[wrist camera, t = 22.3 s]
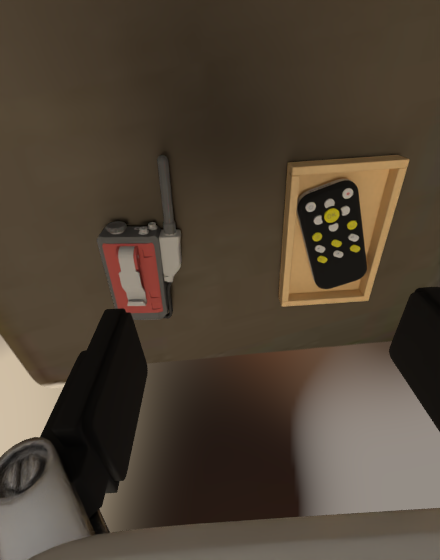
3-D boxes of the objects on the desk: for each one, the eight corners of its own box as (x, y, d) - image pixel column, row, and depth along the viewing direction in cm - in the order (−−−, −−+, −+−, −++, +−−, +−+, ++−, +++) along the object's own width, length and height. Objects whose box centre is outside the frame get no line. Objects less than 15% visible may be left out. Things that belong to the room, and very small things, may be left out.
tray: (287, 162, 29) (292, 167, 27) (398, 154, 29) (410, 159, 27) (278, 296, 39) (281, 306, 37) (361, 291, 39) (368, 301, 37)
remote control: (314, 285, 37) (319, 295, 36) (291, 194, 31) (296, 201, 29) (363, 270, 36) (370, 279, 35) (351, 172, 29) (359, 177, 28)
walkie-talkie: (187, 310, 40) (175, 152, 28) (185, 333, 36) (170, 162, 25) (122, 311, 39) (83, 152, 28) (113, 334, 36) (65, 163, 24)
